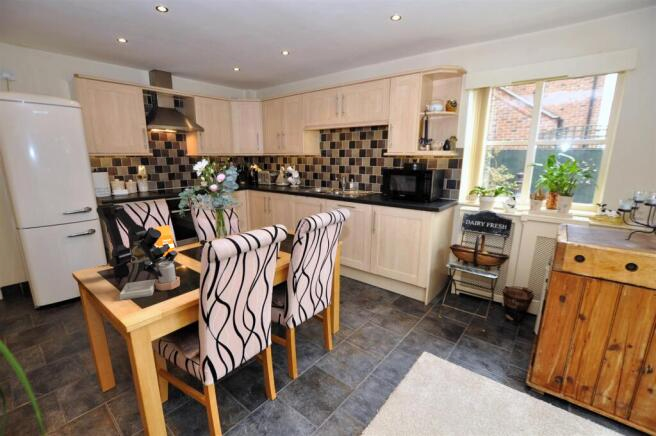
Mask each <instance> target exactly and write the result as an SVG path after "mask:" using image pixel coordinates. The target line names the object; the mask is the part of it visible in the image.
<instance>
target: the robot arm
mask: <svg viewBox="0 0 656 436" xmlns="http://www.w3.org/2000/svg"><path fill="white" fill-rule="evenodd" d="M95 210H96V213H97V215H98V217H99V219H101V220H102V221H103V222H104V223H105V227H106V229H107V232H108V235H109V239H110V243H111V245H112V251H111V259H110V261H109V262H108V264H109V267H112V268H113V273H114V276H113V278H114V279H117V278H124V277H128V276H130V274H131V265H129V263H130V264H131V263H132V255H131V251H130V246H129V247H127V246H126V245H125V244H124V241H123V237H122V234H121V231H120V228H119V225H118V222H117V219H118V221H119V222H120V223H121V224H122V225H123V226H124V228H125V229H126V230H127V236H128V238H129V237H130V239H131V240H132V241H133V242H137V241H141V240H142V241H141V242H140V243H138V249H139V248H141V249H142V250H143V251H144V253H145V254H146V255H145V257H148V258H149V259H147V260H145V261H142V262H140V263H139V265H138V266H137V267H138V269H137V270H138V271H139V272H140V273H142V272H145V273H147V272H148V273H150V274H153V275H155V276H159V277H162V274H161V273H160V271H159V270H158V269H157V267H158V266H156V264H159V263H161V262H166V261H171V262H172V264H174V268H175V272H176V271H177V269H176V265H175V258H176V257H177V255H178V254H179V253H178V252H177V250H175V249H174V250H173V251H170V252H168V250H169V249H170V246H169V245H168V244H164V245H163V246H162V247H156V246H155V245H154V244H155V243H156V242H157V241H158V240H159V238H160V237H161V232H160V231H159V230H157V229H154V228H155V227H154V228H153V226H152V227H148V228H145V227H144V226H143V225H140V224H138V223H137V222H136V221H135V220H134V219H133V217H132V216H131V215H130V214H129V213H128V212H127V211H126V210H125V207H124V205H121V204H114V203H112V202H110V203H105V204H99V205H98V206H97V207H96V209H95ZM165 252H168V253H167V254H166V256H163V255H164V254H165Z"/></svg>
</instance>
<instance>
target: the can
mask: <svg viewBox="0 0 656 436" xmlns="http://www.w3.org/2000/svg"><path fill="white" fill-rule="evenodd" d="M157 264H158V265H157V266H156V267H157V269H158V270H159V271H160V273H161V274H162V277H159V276H158V277H157V278H158V279H159V283H161V284H166V283H171V282H174V281H176V276H177V275H176V271H175V268H176V267H175V268H174V265H175V263H174V264H172V262H171V261H161V262H158V263H157Z"/></svg>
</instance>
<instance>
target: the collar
mask: <svg viewBox="0 0 656 436" xmlns="http://www.w3.org/2000/svg"><path fill="white" fill-rule="evenodd" d="M175 276H176V281H174V282H171V283H166V284H161V283H159V278H158V279H156V282H155V286H156V287H155V290H158V291H169V290H174V289H175V288H178V287H180V285H181V284H180V283H181V280H180V279H181V278H180V276H177V275H175Z"/></svg>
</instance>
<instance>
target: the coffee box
mask: <svg viewBox="0 0 656 436" xmlns="http://www.w3.org/2000/svg"><path fill="white" fill-rule="evenodd" d="M141 241H142V240H141ZM141 241H137V242H133V241H132V240H131V239H130V237H129V236H128V242H129V248H130V252H131V255H132V258H131V263H132V264H138V263H139V264H140V263H141V262H142V261H145V260H147V259H149V258H148V257H145V255H146V254H145V253H144V251H143V250H142V249H141V248H139V249H138V243H140V242H141Z"/></svg>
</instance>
